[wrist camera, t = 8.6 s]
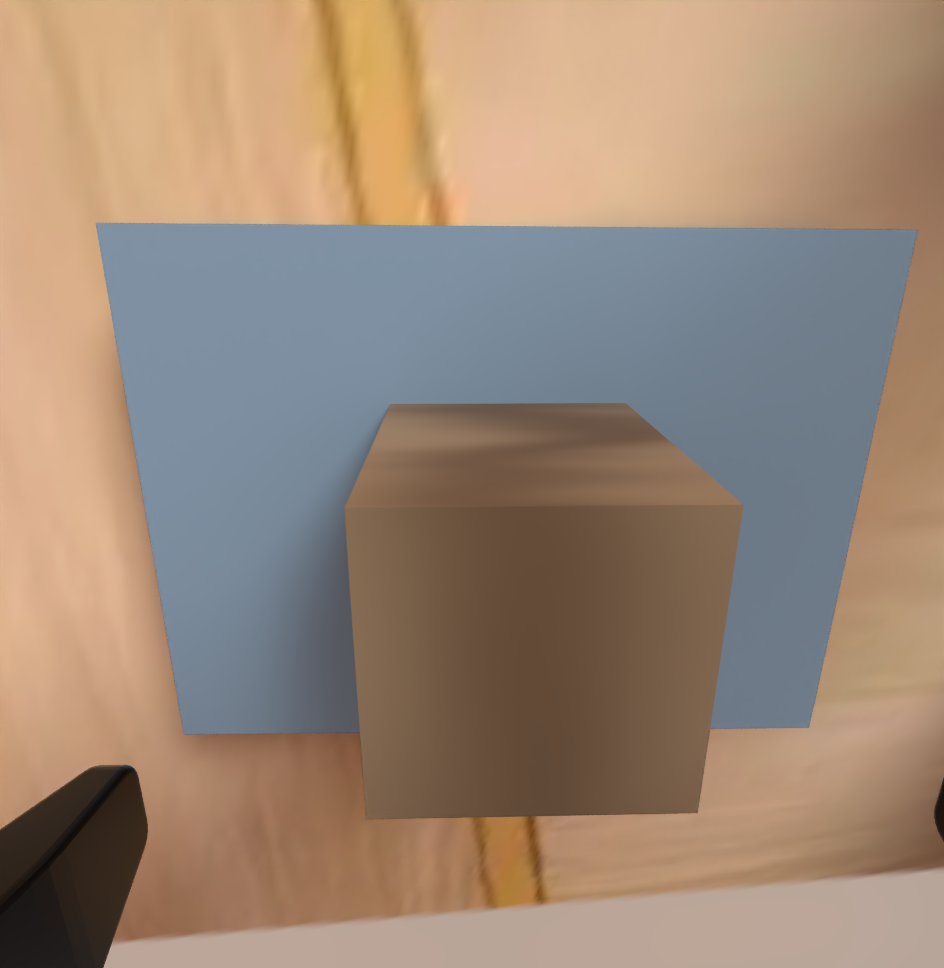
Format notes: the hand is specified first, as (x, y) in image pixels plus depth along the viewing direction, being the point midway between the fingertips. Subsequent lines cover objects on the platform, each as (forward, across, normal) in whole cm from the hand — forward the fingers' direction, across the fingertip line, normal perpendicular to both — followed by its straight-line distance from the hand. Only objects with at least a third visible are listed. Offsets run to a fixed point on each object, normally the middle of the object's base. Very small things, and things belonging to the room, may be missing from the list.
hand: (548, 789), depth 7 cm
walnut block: (+8, 0, 0) cm, 8 cm away
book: (+11, 0, 0) cm, 11 cm away
